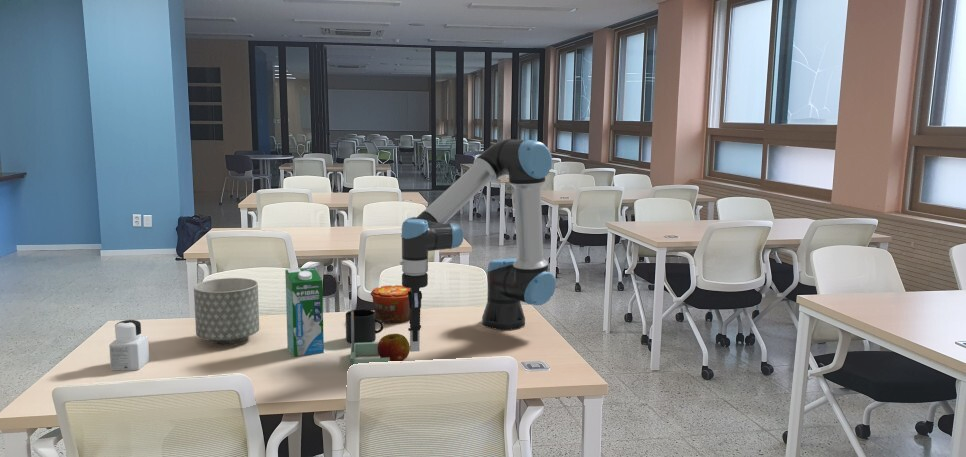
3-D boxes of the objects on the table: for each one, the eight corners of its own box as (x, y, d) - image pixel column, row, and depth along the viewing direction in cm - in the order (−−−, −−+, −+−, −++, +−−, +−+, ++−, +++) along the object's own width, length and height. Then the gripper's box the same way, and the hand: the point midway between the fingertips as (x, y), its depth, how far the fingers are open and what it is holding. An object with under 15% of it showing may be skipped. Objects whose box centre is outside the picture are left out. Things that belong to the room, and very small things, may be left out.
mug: (381, 345, 224) (381, 317, 223) (343, 344, 224) (343, 316, 223) (385, 336, 233) (385, 309, 232) (348, 335, 233) (348, 308, 232)
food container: (378, 312, 262) (377, 283, 260) (420, 314, 260) (420, 285, 258) (365, 324, 246) (364, 294, 244) (410, 327, 244) (410, 296, 242)
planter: (271, 340, 227) (269, 285, 224) (214, 354, 213) (211, 295, 211) (241, 327, 240) (239, 275, 237) (185, 339, 226) (183, 284, 223)
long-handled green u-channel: (388, 352, 217) (387, 303, 215) (389, 370, 202) (389, 317, 200) (351, 354, 215) (350, 304, 213) (350, 372, 200) (349, 319, 198)
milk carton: (294, 356, 212) (291, 275, 208) (287, 348, 220) (285, 269, 216) (323, 352, 216) (322, 272, 212) (316, 344, 224) (314, 266, 220)
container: (122, 361, 206) (119, 318, 204) (149, 360, 207) (147, 317, 205) (110, 370, 198) (107, 325, 196) (139, 370, 199) (136, 325, 197)
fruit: (371, 364, 207) (371, 337, 206) (385, 354, 215) (385, 329, 214) (401, 368, 204) (401, 341, 202) (414, 358, 212) (414, 332, 211)
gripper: (400, 268, 212) (400, 344, 216) (403, 278, 199) (403, 358, 203) (425, 267, 213) (425, 343, 217) (429, 277, 201) (429, 357, 204)
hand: (414, 350), depth 210 cm, fingers closed
